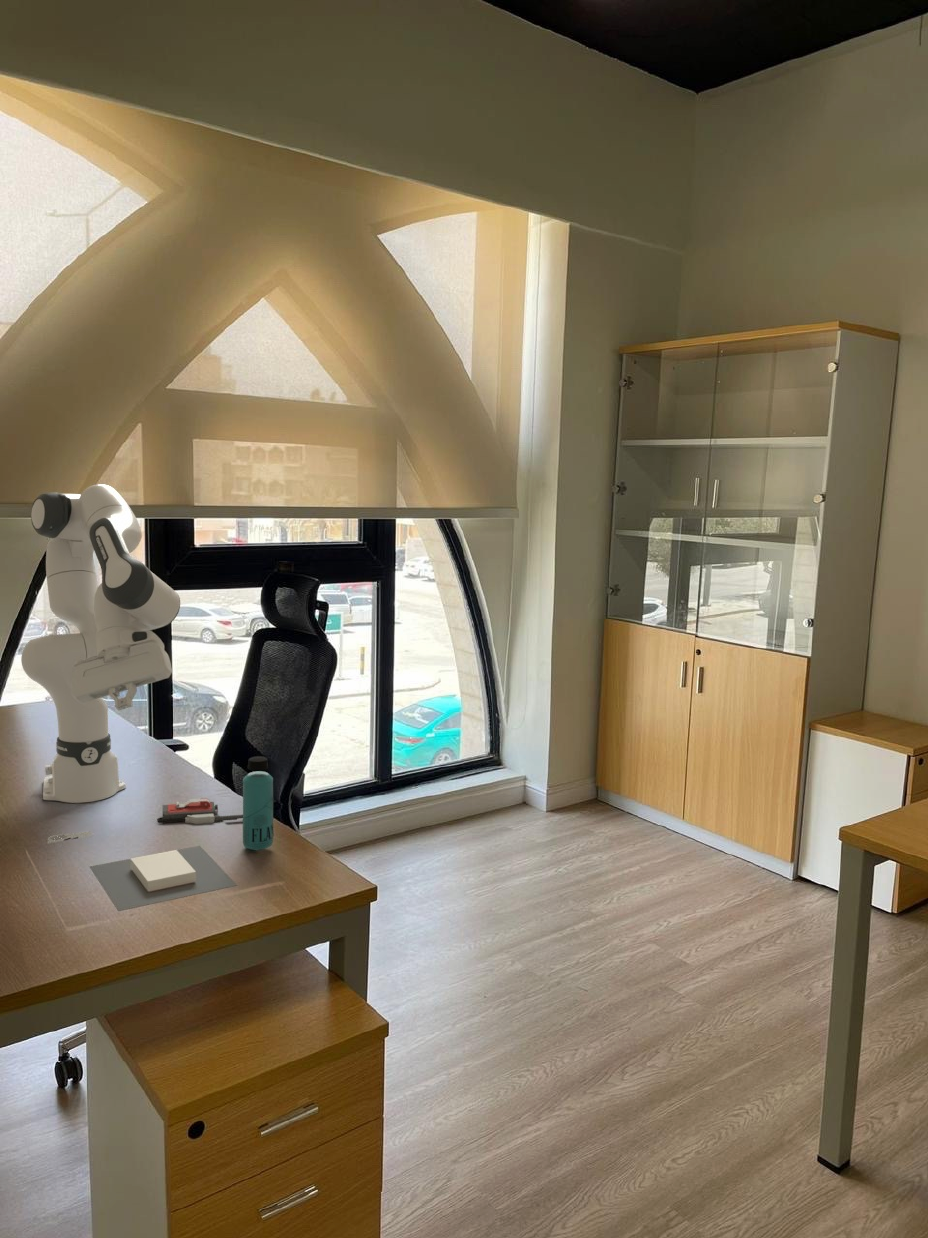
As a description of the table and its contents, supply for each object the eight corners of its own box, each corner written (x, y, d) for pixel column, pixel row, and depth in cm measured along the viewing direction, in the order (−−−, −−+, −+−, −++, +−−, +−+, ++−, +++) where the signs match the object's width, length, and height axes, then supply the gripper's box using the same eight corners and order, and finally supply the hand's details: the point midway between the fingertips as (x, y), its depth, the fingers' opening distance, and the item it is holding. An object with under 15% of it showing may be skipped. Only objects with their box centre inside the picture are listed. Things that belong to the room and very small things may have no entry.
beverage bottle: (248, 859, 198) (248, 764, 195) (237, 847, 203) (237, 755, 200) (278, 853, 201) (279, 760, 198) (267, 842, 207) (267, 751, 204)
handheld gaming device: (92, 830, 209) (92, 857, 195) (92, 833, 209) (92, 860, 195) (48, 834, 206) (45, 862, 192) (48, 837, 206) (45, 865, 192)
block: (130, 858, 189) (147, 881, 179) (176, 850, 194) (195, 871, 184) (130, 869, 190) (148, 893, 180) (176, 860, 194) (195, 883, 185)
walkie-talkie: (157, 830, 212) (250, 823, 218) (156, 811, 211) (250, 805, 217) (157, 816, 220) (247, 810, 226) (157, 798, 220) (247, 792, 226)
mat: (89, 868, 190) (89, 866, 190) (199, 848, 202) (199, 845, 202) (118, 913, 172) (118, 911, 172) (237, 887, 184) (237, 885, 184)
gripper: (63, 656, 200) (67, 716, 193) (159, 628, 200) (165, 687, 193) (78, 669, 205) (82, 728, 198) (171, 642, 205) (178, 699, 198)
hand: (124, 707), depth 196 cm, fingers closed
